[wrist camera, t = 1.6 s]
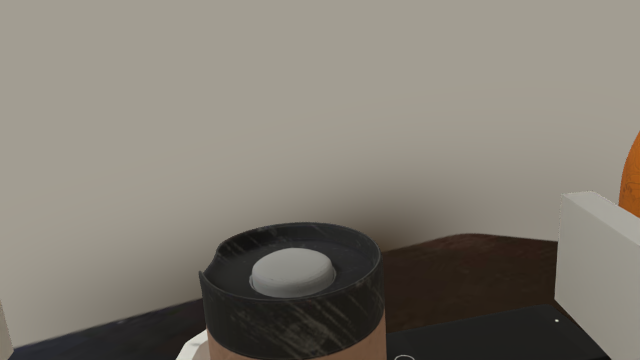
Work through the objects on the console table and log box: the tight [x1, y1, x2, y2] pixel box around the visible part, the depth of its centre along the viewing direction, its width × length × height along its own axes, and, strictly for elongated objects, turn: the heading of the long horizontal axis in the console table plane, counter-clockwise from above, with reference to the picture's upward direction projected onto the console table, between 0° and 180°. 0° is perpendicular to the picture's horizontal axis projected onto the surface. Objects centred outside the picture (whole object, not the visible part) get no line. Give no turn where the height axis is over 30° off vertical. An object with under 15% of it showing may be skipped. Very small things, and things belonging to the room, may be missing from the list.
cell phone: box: [386, 304, 609, 360], centre depth 50 cm, size 9×18×1 cm, turn 104°
